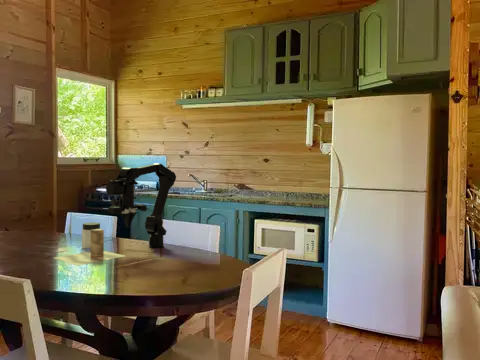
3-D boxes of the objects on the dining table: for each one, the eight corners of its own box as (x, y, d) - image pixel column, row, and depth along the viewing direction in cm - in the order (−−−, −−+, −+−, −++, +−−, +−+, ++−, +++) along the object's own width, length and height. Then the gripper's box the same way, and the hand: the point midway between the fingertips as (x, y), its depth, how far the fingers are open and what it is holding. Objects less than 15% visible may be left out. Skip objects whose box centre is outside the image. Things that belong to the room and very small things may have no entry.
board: (99, 250, 214) (100, 249, 214) (126, 257, 202) (126, 256, 202) (52, 259, 195) (52, 257, 195) (78, 266, 183) (78, 265, 183)
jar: (102, 248, 221) (103, 224, 220) (86, 250, 216) (86, 225, 215) (95, 245, 228) (96, 221, 227) (79, 247, 223) (79, 223, 222)
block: (98, 255, 203) (98, 228, 202) (103, 256, 200) (103, 229, 200) (90, 256, 199) (90, 229, 199) (95, 257, 197) (95, 230, 196)
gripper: (132, 192, 223) (132, 223, 224) (100, 194, 209) (100, 227, 210) (147, 193, 217) (147, 225, 217) (115, 195, 202) (115, 230, 203)
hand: (127, 227), depth 212 cm, fingers closed
